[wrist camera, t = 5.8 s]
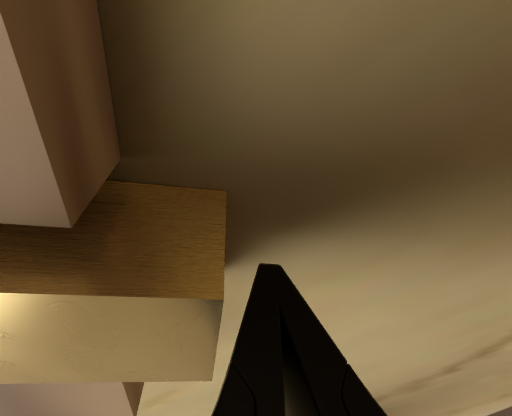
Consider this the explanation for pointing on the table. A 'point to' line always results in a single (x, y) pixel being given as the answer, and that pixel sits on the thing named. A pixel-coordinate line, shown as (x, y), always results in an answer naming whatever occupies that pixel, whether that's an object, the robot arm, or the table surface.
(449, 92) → the table surface
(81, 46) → the beam
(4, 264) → the block
